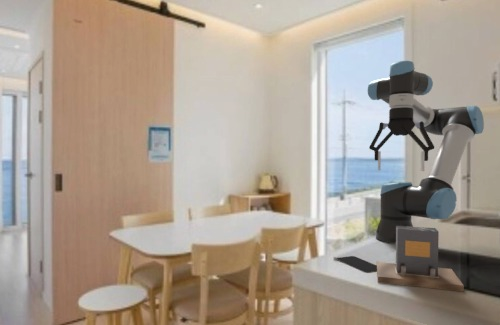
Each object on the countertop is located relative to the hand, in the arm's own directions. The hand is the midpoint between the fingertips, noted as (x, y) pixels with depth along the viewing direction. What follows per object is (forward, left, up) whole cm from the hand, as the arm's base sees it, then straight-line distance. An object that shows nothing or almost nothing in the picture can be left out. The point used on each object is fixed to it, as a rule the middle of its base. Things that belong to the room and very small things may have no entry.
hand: (400, 170), depth 121 cm
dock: (+18, +16, -29) cm, 37 cm away
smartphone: (+20, -1, -29) cm, 36 cm away
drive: (+18, +16, -27) cm, 36 cm away
